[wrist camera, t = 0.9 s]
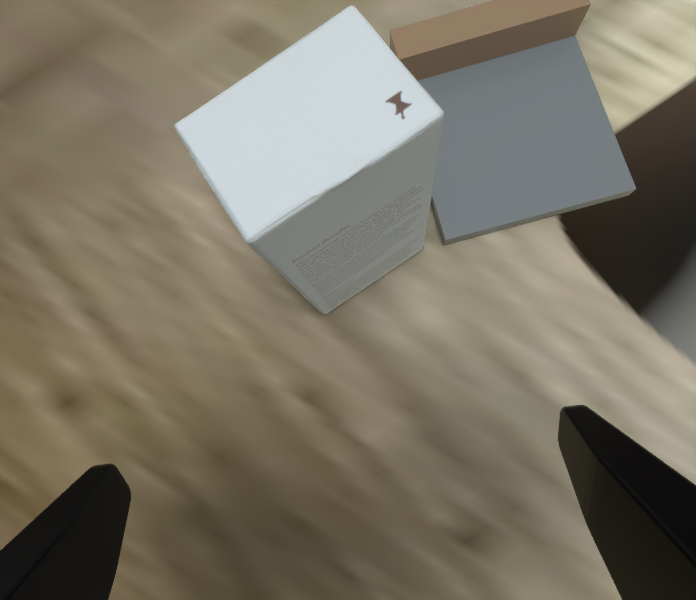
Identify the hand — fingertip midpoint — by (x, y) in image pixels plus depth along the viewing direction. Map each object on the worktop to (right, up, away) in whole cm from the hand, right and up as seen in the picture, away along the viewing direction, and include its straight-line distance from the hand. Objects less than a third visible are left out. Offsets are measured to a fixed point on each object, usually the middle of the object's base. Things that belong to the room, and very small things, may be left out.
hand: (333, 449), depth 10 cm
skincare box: (0, +5, +15) cm, 16 cm away
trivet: (+8, +12, +15) cm, 20 cm away
